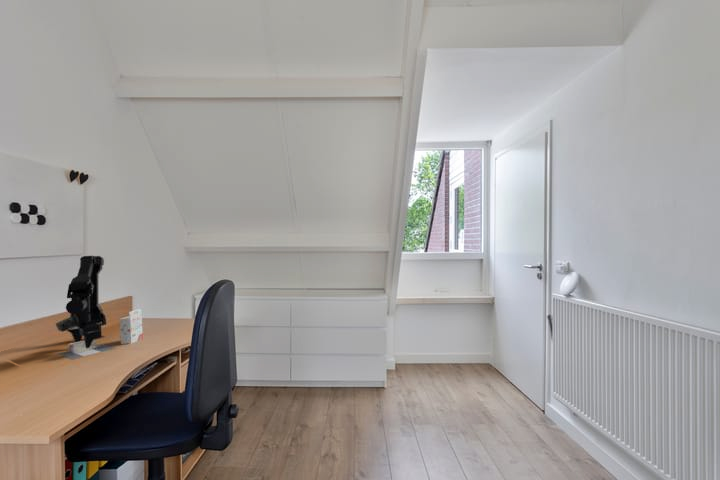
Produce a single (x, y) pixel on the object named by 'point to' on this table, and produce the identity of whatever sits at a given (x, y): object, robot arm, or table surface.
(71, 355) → the charcoal mat
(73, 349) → the off-white banded block
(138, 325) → the ink cartridge box
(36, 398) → the table surface
